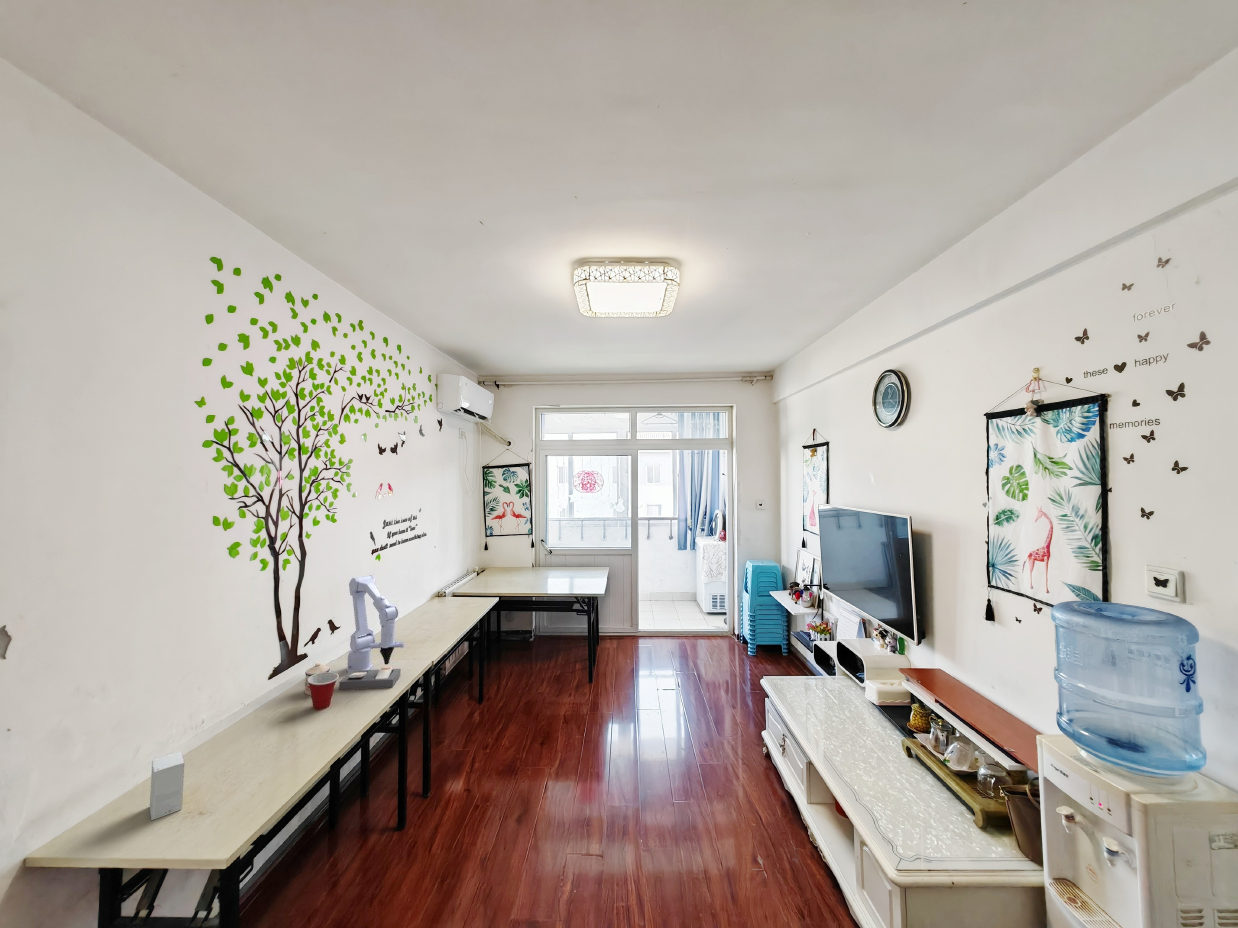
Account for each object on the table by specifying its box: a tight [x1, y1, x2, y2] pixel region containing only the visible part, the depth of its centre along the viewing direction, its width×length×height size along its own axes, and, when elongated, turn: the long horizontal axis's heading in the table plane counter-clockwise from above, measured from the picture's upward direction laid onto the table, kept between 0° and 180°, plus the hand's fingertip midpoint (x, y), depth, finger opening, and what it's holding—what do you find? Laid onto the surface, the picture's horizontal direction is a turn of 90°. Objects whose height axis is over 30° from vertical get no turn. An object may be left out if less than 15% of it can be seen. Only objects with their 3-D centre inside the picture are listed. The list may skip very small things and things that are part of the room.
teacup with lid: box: [304, 662, 331, 696], centre depth 207 cm, size 12×9×12 cm
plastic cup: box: [308, 671, 340, 711], centre depth 193 cm, size 11×11×12 cm
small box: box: [149, 751, 185, 821], centre depth 134 cm, size 8×6×13 cm
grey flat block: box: [338, 668, 402, 691], centre depth 215 cm, size 22×12×4 cm, turn 100°
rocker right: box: [375, 666, 394, 679], centre depth 216 cm, size 5×8×1 cm, turn 10°
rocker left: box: [349, 672, 367, 678], centre depth 215 cm, size 5×8×1 cm, turn 10°
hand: (386, 663), depth 220 cm, fingers closed
